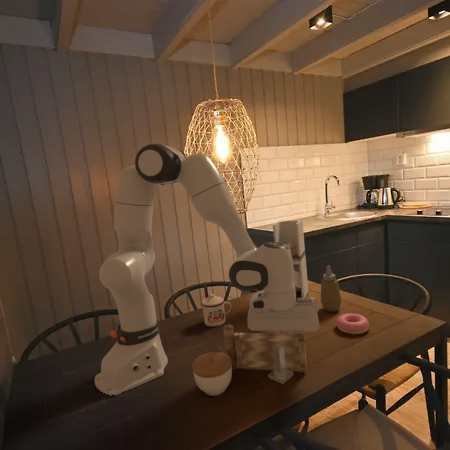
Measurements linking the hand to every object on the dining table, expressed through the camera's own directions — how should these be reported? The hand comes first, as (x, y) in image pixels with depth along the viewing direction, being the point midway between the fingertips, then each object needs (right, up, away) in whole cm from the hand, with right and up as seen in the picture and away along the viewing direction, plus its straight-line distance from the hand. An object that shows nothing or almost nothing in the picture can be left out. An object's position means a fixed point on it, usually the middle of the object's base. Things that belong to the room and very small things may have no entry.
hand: (284, 343), depth 94 cm
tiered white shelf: (+14, +1, +52) cm, 54 cm away
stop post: (-2, -8, -3) cm, 9 cm away
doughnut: (+27, -2, +19) cm, 34 cm away
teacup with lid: (-20, -5, +37) cm, 43 cm away
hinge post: (-15, -9, +4) cm, 18 cm away
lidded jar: (-20, -11, -5) cm, 23 cm away
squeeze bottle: (+26, 0, +37) cm, 45 cm away
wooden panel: (-4, -7, 0) cm, 8 cm away
